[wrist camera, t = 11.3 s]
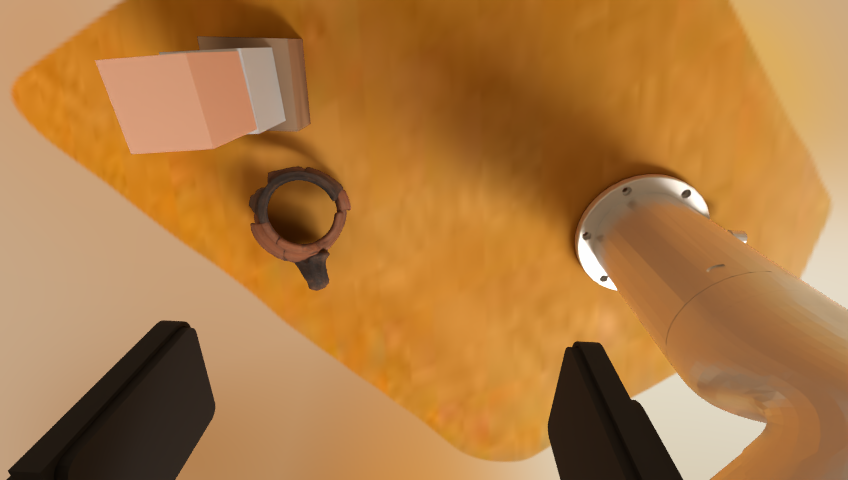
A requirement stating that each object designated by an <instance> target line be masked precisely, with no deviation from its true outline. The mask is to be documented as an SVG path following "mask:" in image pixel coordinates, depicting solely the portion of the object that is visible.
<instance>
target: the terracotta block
mask: <svg viewBox="0 0 848 480" xmlns="http://www.w3.org/2000/svg"><path fill="white" fill-rule="evenodd" d="M95 61H96V64H97V67H98V69H99V72H100V74H101V77H102V80H103V82H104V85H105V87H106V90H107V92H108V95H109V98H110V100H111V103H112V105H113V108H114V111H115V113H116V116H117V118H118V121H119V124H120V126H121V129H122V131H123V134H124V137H125V139H126V142H127V144H128V147H129V150H130V152H131V154H142V153H157V152H173V151H189V150H204V149H215V148H217V147H219V146H221V145H223V144H226V143H228V142H230V141H232V140H234V139H237V138H239V137H241V136H243V135H246V134H248V133H250V132H252V131H254V130H257V126H256V122H255V118H254V114H253V110H252V105H251V101H250V97H249V93H248V89H247V85H246V81H245V77H244V73H243V69H242V64H241V60H240V56H239V52H238V51H228V52H199V53H179V54H167V55H154V56H142V57H130V58H118V59H106V60H95Z"/></svg>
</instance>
